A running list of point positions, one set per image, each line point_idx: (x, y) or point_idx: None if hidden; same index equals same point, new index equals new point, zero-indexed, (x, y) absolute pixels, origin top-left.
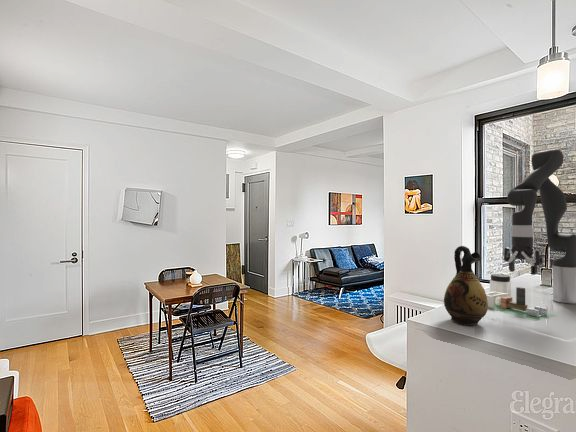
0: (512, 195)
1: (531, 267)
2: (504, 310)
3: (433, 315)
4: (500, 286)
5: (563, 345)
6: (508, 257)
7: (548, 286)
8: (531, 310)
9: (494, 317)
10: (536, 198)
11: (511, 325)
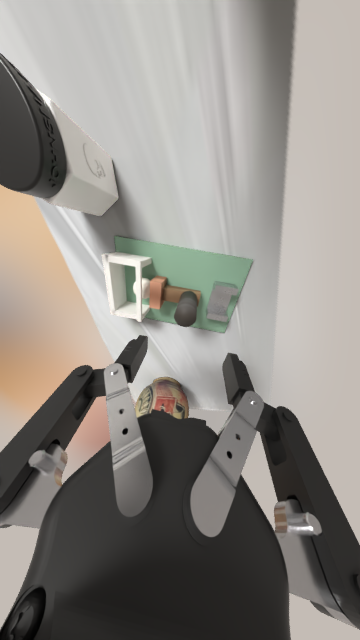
0: None
1: (229, 397)
2: (169, 310)
3: (135, 384)
4: (75, 198)
5: (264, 388)
6: (75, 391)
7: None
8: (215, 318)
9: (176, 350)
10: None
11: (205, 365)
